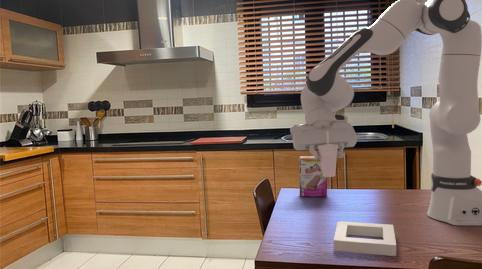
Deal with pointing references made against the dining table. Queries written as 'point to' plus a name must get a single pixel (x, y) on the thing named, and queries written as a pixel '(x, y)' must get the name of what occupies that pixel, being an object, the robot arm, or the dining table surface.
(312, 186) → the candy bar box
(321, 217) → the dining table surface
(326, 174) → the smoothie
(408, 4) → the robot arm
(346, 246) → the beige square frame
